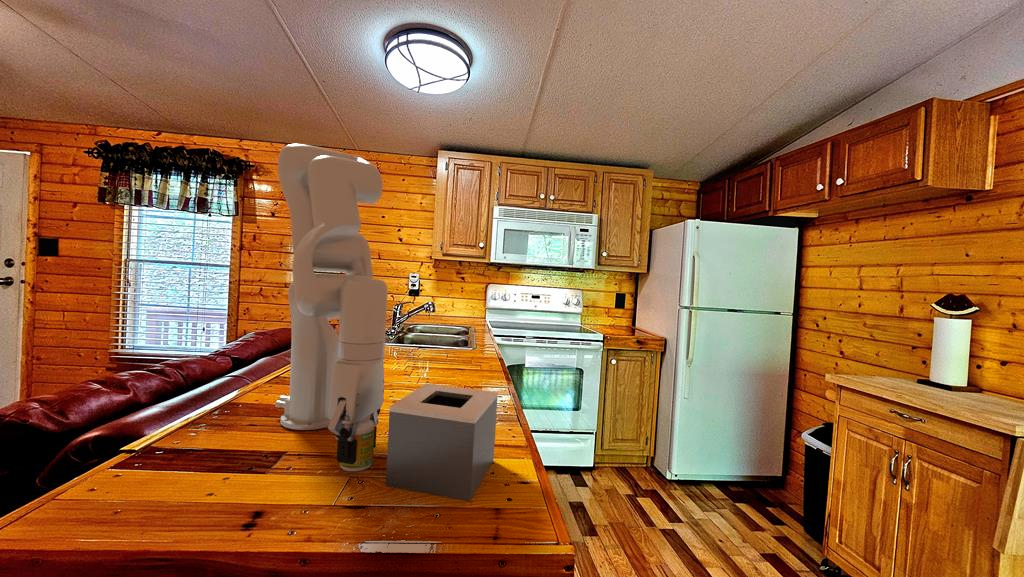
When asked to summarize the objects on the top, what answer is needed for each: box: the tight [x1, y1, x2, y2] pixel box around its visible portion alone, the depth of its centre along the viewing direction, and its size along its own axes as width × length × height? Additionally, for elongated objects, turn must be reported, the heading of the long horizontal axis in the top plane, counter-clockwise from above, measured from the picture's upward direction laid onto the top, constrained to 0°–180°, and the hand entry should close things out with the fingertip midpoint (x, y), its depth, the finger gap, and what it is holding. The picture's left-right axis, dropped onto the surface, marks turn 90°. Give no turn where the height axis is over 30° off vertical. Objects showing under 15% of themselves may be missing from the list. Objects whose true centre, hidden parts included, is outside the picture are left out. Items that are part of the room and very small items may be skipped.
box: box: [385, 383, 499, 502], centre depth 72 cm, size 14×14×13 cm
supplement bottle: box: [339, 414, 376, 472], centre depth 72 cm, size 5×5×10 cm
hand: (357, 453), depth 72 cm, fingers closed on supplement bottle, 5 cm apart
